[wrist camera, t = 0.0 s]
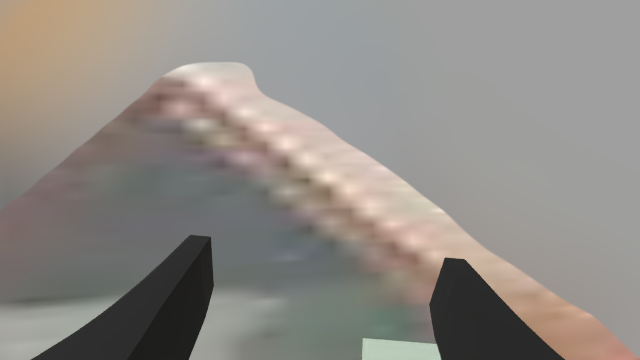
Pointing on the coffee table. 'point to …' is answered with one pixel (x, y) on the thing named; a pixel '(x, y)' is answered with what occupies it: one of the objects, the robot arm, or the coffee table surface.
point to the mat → (398, 350)
